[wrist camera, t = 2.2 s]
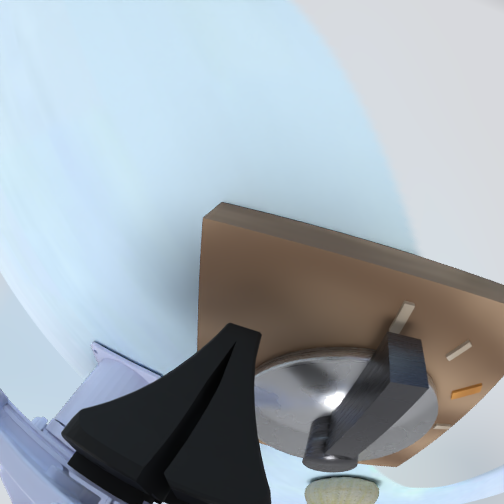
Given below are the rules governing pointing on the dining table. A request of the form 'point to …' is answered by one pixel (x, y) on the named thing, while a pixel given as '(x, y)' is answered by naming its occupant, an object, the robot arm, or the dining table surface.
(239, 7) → the dining table surface
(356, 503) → the sea urchin shell
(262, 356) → the dial base
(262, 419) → the dial
